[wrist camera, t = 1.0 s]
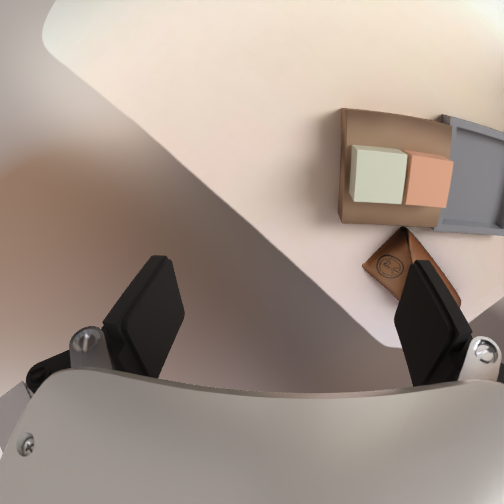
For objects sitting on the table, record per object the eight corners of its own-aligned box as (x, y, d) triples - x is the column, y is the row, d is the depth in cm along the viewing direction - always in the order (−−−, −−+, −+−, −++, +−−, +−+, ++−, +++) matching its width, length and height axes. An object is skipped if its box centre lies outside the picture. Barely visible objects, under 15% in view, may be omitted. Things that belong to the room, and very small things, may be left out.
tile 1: (402, 149, 23) (412, 155, 21) (442, 155, 23) (453, 161, 21) (397, 195, 26) (405, 204, 24) (435, 199, 25) (445, 208, 23)
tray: (442, 114, 23) (450, 116, 21) (516, 137, 21) (525, 141, 19) (427, 223, 30) (433, 231, 28) (498, 229, 28) (505, 236, 26)
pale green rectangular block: (351, 144, 24) (357, 149, 22) (398, 149, 23) (407, 154, 21) (349, 192, 27) (353, 201, 25) (393, 195, 26) (401, 204, 24)
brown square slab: (341, 108, 25) (347, 109, 22) (439, 122, 23) (452, 125, 21) (337, 211, 31) (341, 223, 29) (427, 216, 30) (436, 227, 27)
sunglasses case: (356, 266, 35) (386, 277, 28) (382, 223, 35) (415, 226, 28) (420, 324, 39) (447, 338, 32) (440, 289, 39) (468, 298, 32)
